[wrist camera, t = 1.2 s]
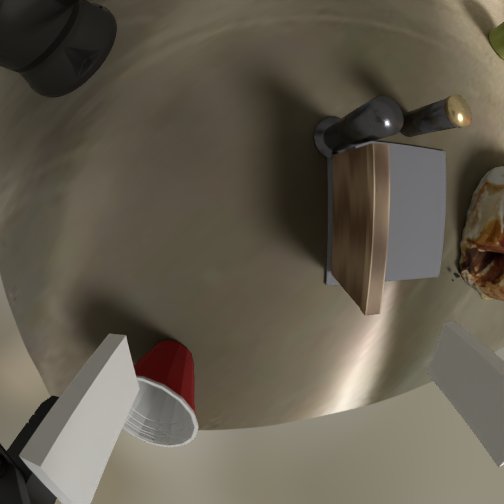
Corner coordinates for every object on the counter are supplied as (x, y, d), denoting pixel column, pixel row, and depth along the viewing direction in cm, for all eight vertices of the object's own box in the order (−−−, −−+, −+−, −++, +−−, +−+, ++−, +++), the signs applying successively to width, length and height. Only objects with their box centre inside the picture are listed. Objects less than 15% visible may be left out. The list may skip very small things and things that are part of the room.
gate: (331, 155, 29) (372, 143, 18) (343, 155, 29) (388, 144, 18) (330, 274, 32) (365, 315, 22) (341, 273, 32) (380, 313, 22)
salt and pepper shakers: (311, 101, 28) (348, 57, 16) (416, 115, 29) (483, 95, 16) (314, 159, 30) (356, 146, 17) (419, 166, 30) (490, 166, 18)
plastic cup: (131, 316, 34) (90, 368, 23) (212, 328, 35) (198, 390, 23) (137, 379, 37) (110, 436, 25) (209, 391, 37) (198, 455, 26)
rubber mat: (326, 138, 29) (327, 137, 29) (443, 151, 30) (445, 151, 29) (325, 284, 34) (326, 285, 33) (437, 275, 34) (438, 276, 33)
